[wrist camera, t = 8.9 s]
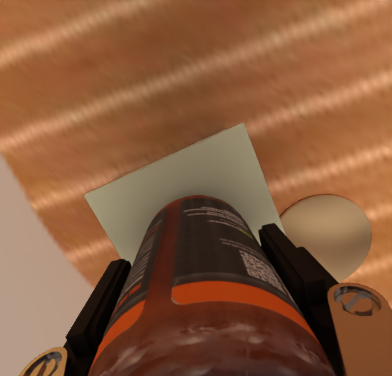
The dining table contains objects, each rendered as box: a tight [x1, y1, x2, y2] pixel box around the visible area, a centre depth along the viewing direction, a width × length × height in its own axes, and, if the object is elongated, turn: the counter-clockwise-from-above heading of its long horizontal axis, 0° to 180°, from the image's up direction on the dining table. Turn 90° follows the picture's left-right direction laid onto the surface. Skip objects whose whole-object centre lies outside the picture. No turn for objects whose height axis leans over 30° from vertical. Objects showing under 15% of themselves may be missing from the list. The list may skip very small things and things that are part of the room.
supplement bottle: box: [88, 195, 337, 376], centre depth 8 cm, size 6×6×11 cm
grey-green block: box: [84, 122, 286, 266], centre depth 17 cm, size 10×10×5 cm
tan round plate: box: [279, 194, 372, 283], centre depth 20 cm, size 9×9×1 cm
